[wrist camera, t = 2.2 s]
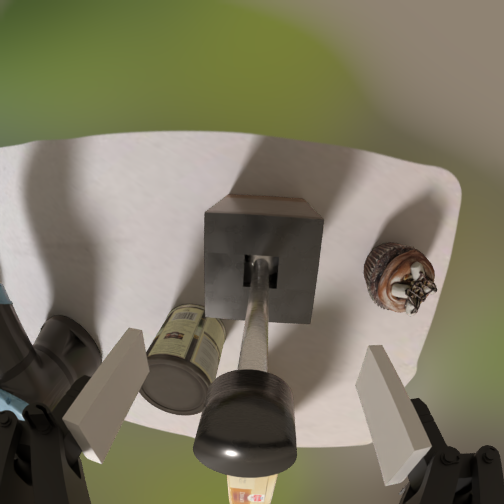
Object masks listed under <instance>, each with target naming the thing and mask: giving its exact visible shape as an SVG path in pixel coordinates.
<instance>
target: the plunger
mask: <svg viewBox="0 0 504 504" xmlns="http://www.w3.org/2000/svg"><path fill="white" fill-rule="evenodd" d="M278 259H279V257H273V256H257V255H245V269H244V282H247V283H251V287H250V293H249V300H248V306H247V313H246V319H245V326H244V332H243V339H242V345H241V352H240V358H239V365H238V370H235V371H231V372H227V373H225V374H222V375H221V376H219V377H217V378H216V379H215V380H214V381H213V382H212V383H211V384H210V386H209V388H208V392H207V396H206V399H205V403H204V407H203V411H202V415H201V419H200V422H199V426H198V430H197V434H196V438H195V442H194V446H193V452H194V454H195V456H196V458H197V459H198V460H199V461H200V462H201V463H202V464H204V465H205V466H207V467H208V468H210V469H212V470H214V471H216V472H219V473H222V474H225V475H229V476H235V477H242V478H259V477H267V476H271V475H275V474H278V473H280V472H283V471H285V470H287V469H288V468H289V467H291V466H292V465H293V464H294V462H295V460H296V458H297V451H296V450H297V448H296V432H295V417H294V403H293V394H292V391H291V389H290V387H289V386H288V385H287V384H286V383H285V382H284V381H283V380H282V379H280V378H279V377H277V376H275V375H273V374H271V373H268V372H267V368H268V309H269V284H276V283H277V271H278Z"/></svg>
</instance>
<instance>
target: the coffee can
mask: <svg viewBox="0 0 504 504" xmlns="http://www.w3.org/2000/svg"><path fill="white" fill-rule="evenodd" d="M225 338H226V332H225V328H224V325H223V323H222V321H221V320H220V318H210V317H205V307H203V306H200V305H193V304H187V305H182V306H179V307H176V308H175V309H173V310H172V311H171V312H170V313H169V315H168V316H167V318H166V320H165V322H164V324H163V325H162V327H161V329H160V330H159V332H158V334H157V335H156V337H155V339H154V340H153V342H152V344H151V345H150V347H149V349H148V350H147V352H146V355H147V361H148V366H149V373H148V375H147V377H146V379H145V381H144V382H143V384H142V386H141V388H140V390H139V393H140V394H141V395H142V396H143V397H144V398H145V399H146V400H147V401H148V402H149V403H150V404H152V405H153V406H155V407H157V408H158V409H161V410H163V411H165V412H168V413H172V414H176V415H194V414H198V413H200V412H202V411H203V407H204V403H205V399H206V396H207V392H208V388H209V386H210V384H211V383H212V382H213V381H214V380H215V378H216V374H217V370H218V365H219V361H220V357H221V353H222V348H223V344H224V342H225Z"/></svg>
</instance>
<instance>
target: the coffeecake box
mask: <svg viewBox="0 0 504 504" xmlns="http://www.w3.org/2000/svg"><path fill="white" fill-rule="evenodd" d="M277 475H278V474H275V475H271V476H267V477H259V478H242V477H235V476H229V475H227V480H228V492H229V501H230V504H270V503H271V499H272V495H273V491H274V488H275V484H276V480H277Z"/></svg>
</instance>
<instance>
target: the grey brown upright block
mask: <svg viewBox="0 0 504 504" xmlns="http://www.w3.org/2000/svg"><path fill="white" fill-rule="evenodd" d="M323 224H324V219H323V218H322V217H321V216H320V215H319V214H318V213H317V212H316V211H315V210H314V209H313V208H312V207H311V206H310V205H309V204H308V203H307V202H306V201H305V200H304V199H300V198H287V197H272V196H256V195H236V194H228V195H227V196H226V197H224V198H223V199H222V200H220V201H219V202H218V203H216V204H215V205H214V206H212V207H211V208H210V209H208V210H207V211H206V212H205V217H204V282H205V317H210V318H221V319H233V320H245V319H246V313H247V306H248V300H249V293H250V287H251V283H247V282H244V269H245V255H257V256H273V257H279V259H278V271H277V283H276V284H269V309H268V322H277V323H297V324H310V321H311V315H312V309H313V302H314V295H315V289H316V282H317V274H318V267H319V259H320V251H321V242H322V233H323Z"/></svg>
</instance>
